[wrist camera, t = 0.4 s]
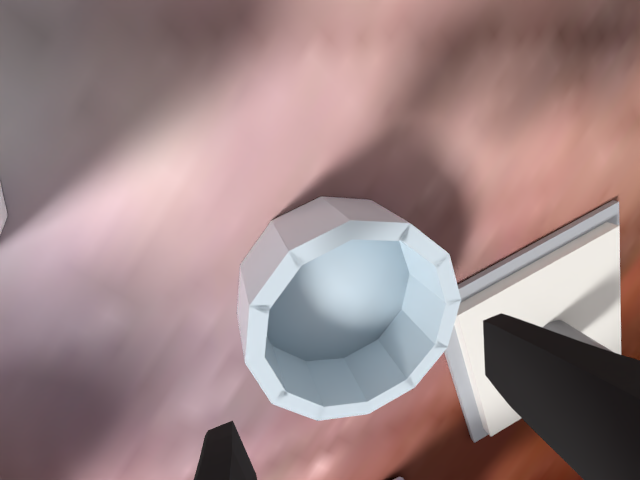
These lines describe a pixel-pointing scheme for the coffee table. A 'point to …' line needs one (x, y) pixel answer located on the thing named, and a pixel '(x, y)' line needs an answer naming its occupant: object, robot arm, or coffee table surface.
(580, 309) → the lid
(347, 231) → the bowl
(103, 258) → the coffee table surface
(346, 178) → the coffee table surface
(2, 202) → the foam cup
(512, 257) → the mat
